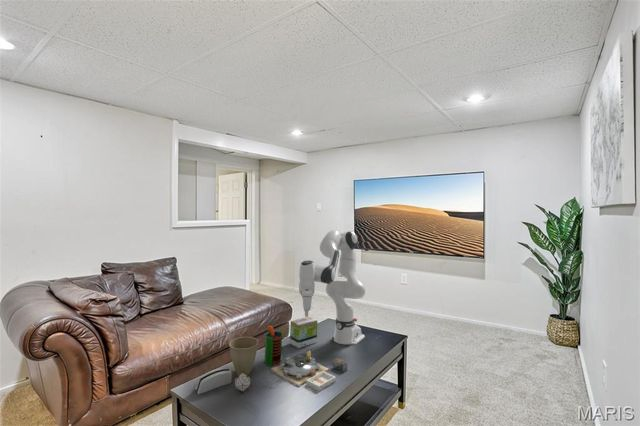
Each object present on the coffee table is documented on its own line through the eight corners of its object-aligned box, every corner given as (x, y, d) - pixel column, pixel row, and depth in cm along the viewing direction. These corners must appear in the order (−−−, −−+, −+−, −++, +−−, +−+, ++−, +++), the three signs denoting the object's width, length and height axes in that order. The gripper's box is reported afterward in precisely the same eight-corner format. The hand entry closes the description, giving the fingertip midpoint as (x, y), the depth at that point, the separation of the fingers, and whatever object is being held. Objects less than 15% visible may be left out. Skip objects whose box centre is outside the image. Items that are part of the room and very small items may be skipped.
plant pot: (222, 375, 171) (223, 344, 170) (241, 363, 184) (241, 334, 184) (245, 382, 164) (246, 350, 164) (263, 369, 177) (263, 340, 177)
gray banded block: (337, 365, 183) (337, 357, 183) (347, 370, 178) (347, 361, 178) (333, 367, 181) (333, 359, 180) (343, 372, 176) (343, 364, 176)
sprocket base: (300, 357, 192) (300, 355, 192) (328, 370, 177) (328, 368, 177) (270, 370, 176) (270, 368, 176) (299, 386, 161) (299, 384, 161)
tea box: (299, 348, 203) (299, 325, 203) (289, 343, 211) (289, 320, 210) (317, 342, 213) (317, 319, 213) (307, 337, 221) (308, 315, 220)
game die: (246, 397, 158) (258, 383, 156) (231, 398, 152) (243, 383, 150) (241, 381, 164) (252, 367, 162) (227, 380, 158) (238, 366, 157)
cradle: (323, 375, 172) (323, 370, 172) (335, 381, 166) (335, 376, 166) (306, 384, 163) (306, 379, 163) (318, 391, 157) (318, 386, 157)
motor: (277, 367, 180) (277, 331, 179) (261, 365, 182) (262, 329, 181) (283, 358, 190) (283, 324, 189) (268, 357, 192) (268, 323, 191)
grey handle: (227, 378, 168) (230, 362, 165) (230, 384, 165) (234, 369, 162) (194, 389, 157) (196, 373, 154) (197, 397, 154) (200, 380, 151)
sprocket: (300, 355, 191) (300, 343, 191) (327, 368, 177) (327, 355, 177) (272, 368, 176) (272, 355, 176) (299, 383, 162) (299, 369, 161)
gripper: (300, 285, 198) (300, 308, 198) (301, 293, 178) (300, 319, 178) (311, 285, 199) (310, 308, 199) (313, 293, 178) (312, 319, 178)
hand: (306, 313), depth 188 cm, fingers open, 8 cm apart
